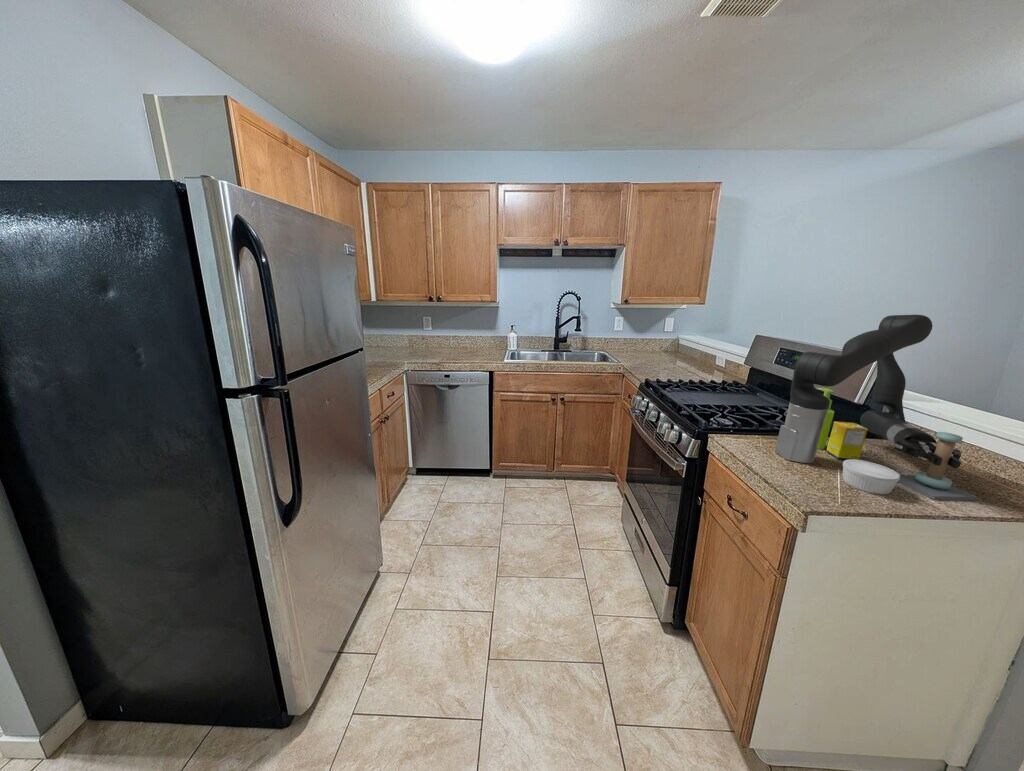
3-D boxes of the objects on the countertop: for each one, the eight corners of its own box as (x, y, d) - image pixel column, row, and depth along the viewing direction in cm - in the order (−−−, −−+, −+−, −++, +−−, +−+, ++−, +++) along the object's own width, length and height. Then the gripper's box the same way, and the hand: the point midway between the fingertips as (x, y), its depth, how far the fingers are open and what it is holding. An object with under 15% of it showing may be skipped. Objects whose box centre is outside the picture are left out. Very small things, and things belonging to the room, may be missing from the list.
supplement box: (845, 453, 118) (854, 422, 115) (858, 461, 112) (868, 429, 109) (824, 451, 119) (833, 420, 116) (837, 459, 113) (846, 427, 110)
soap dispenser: (814, 441, 127) (828, 387, 122) (828, 449, 121) (845, 392, 116) (796, 440, 128) (810, 386, 123) (810, 448, 121) (825, 391, 116)
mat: (933, 499, 92) (935, 496, 92) (889, 477, 103) (890, 474, 102) (975, 500, 92) (976, 496, 92) (926, 478, 103) (927, 475, 103)
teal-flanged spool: (934, 488, 94) (952, 439, 90) (907, 476, 100) (923, 430, 96) (957, 489, 94) (977, 440, 90) (929, 476, 100) (947, 430, 97)
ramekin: (855, 493, 94) (860, 475, 92) (829, 473, 104) (833, 456, 103) (906, 500, 92) (913, 481, 90) (874, 478, 102) (880, 461, 101)
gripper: (883, 423, 110) (916, 444, 94) (946, 432, 104) (992, 456, 89) (875, 446, 112) (907, 470, 96) (937, 455, 106) (981, 483, 91)
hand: (948, 463), depth 93 cm, fingers closed on teal-flanged spool, 2 cm apart
